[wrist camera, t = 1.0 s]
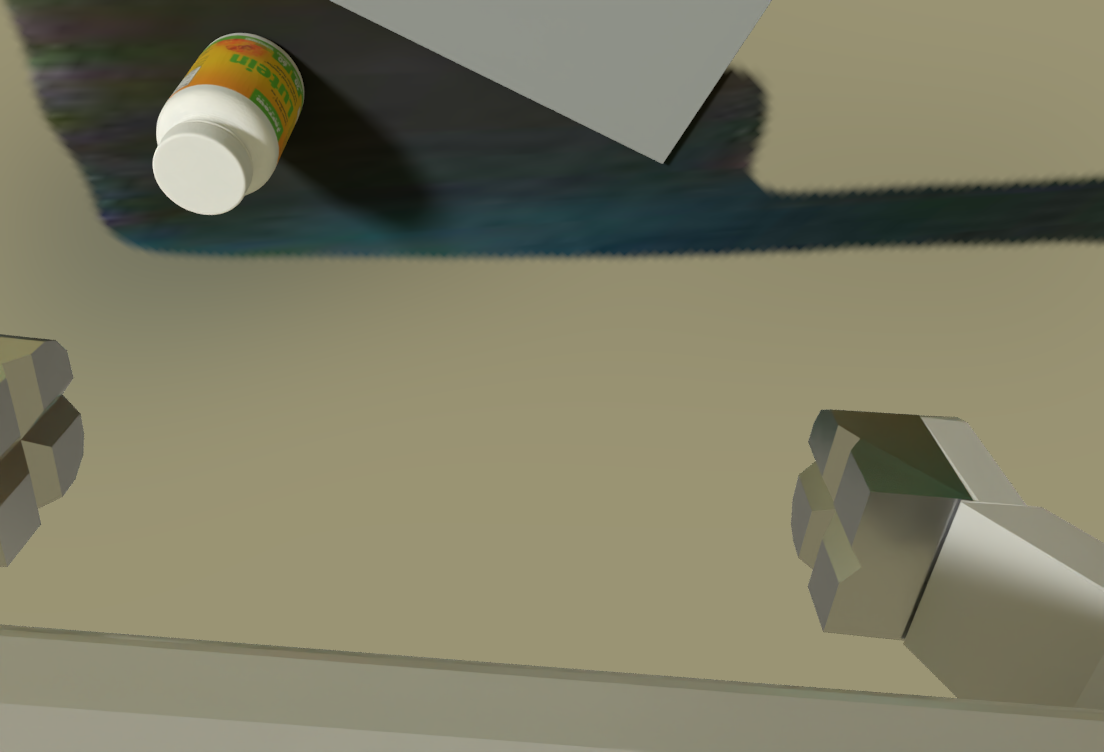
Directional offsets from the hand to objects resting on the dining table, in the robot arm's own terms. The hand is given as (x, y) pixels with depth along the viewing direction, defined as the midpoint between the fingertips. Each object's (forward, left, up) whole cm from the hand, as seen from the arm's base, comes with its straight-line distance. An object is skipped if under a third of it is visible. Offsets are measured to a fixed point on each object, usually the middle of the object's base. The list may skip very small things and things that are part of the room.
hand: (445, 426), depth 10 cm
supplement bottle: (+18, -6, -38) cm, 43 cm away
